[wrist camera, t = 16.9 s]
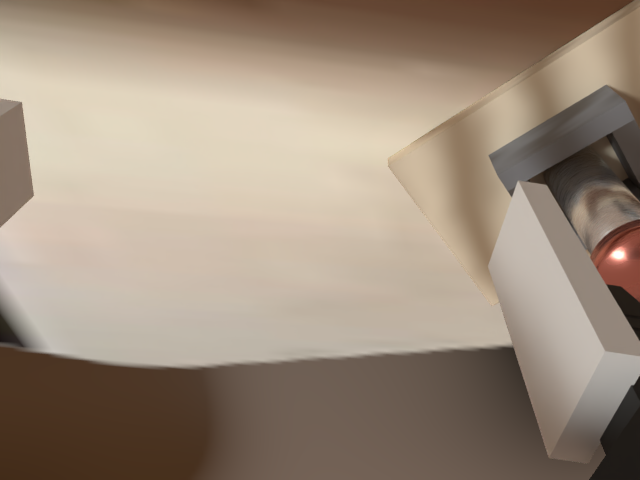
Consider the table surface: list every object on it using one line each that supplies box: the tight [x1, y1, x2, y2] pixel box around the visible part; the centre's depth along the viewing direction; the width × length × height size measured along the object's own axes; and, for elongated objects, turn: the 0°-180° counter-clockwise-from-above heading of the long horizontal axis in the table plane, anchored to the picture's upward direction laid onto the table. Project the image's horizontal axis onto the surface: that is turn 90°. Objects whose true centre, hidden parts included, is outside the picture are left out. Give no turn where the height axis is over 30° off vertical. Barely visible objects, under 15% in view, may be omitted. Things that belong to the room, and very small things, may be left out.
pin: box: [543, 146, 640, 302], centre depth 38 cm, size 6×6×14 cm
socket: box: [388, 0, 640, 306], centre depth 43 cm, size 22×16×5 cm
